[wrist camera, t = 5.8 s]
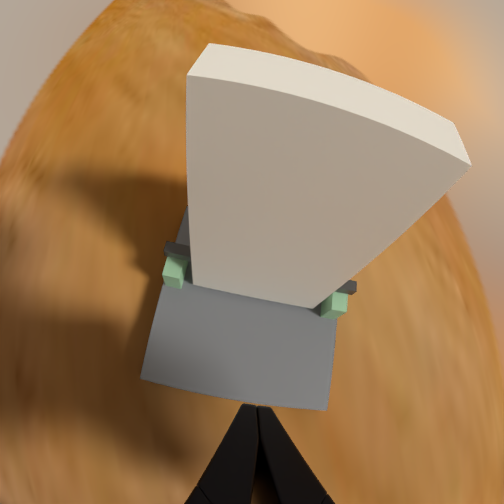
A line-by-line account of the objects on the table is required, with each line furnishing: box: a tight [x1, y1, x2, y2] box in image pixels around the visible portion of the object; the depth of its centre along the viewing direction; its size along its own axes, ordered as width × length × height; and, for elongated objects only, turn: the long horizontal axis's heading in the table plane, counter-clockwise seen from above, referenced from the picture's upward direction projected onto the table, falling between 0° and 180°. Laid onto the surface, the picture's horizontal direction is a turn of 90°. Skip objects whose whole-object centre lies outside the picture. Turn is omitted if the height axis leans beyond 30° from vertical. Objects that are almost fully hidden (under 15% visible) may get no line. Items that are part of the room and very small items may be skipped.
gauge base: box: [140, 206, 348, 410], centre depth 13 cm, size 10×9×6 cm
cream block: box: [164, 43, 472, 309], centre depth 10 cm, size 2×9×11 cm, turn 81°
